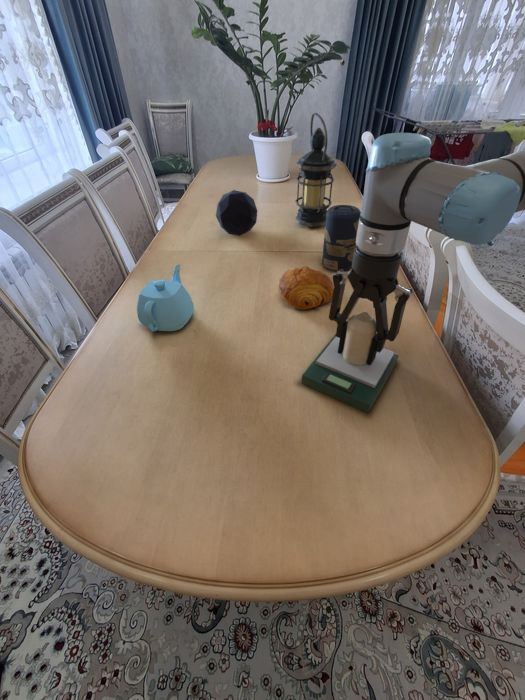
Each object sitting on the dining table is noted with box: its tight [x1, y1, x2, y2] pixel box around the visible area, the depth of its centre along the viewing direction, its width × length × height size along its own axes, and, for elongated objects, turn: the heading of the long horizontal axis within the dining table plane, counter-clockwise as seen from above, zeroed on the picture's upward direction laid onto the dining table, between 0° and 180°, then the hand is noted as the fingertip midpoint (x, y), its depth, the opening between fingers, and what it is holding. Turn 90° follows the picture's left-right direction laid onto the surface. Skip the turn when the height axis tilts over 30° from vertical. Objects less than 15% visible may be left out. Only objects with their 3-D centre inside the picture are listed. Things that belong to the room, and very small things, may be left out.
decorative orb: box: [215, 189, 258, 237], centre depth 122 cm, size 14×15×15 cm
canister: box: [321, 204, 361, 272], centre depth 101 cm, size 10×10×18 cm
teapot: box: [136, 264, 195, 333], centre depth 85 cm, size 13×11×18 cm
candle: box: [343, 311, 377, 365], centre depth 68 cm, size 6×6×10 cm
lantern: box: [294, 112, 337, 228], centre depth 120 cm, size 14×13×35 cm
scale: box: [301, 333, 399, 414], centre depth 71 cm, size 14×16×3 cm
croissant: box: [278, 266, 334, 310], centre depth 92 cm, size 14×16×8 cm
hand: (356, 355), depth 71 cm, fingers closed on candle, 5 cm apart
